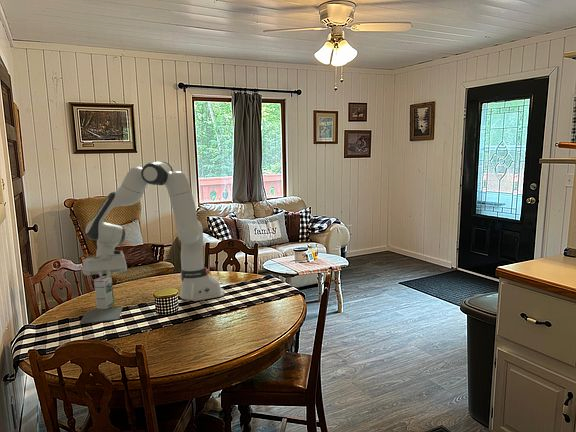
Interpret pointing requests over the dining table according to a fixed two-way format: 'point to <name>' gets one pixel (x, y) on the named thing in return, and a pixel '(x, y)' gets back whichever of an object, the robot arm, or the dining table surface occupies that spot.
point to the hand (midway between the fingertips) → (104, 280)
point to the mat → (101, 315)
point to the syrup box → (104, 292)
